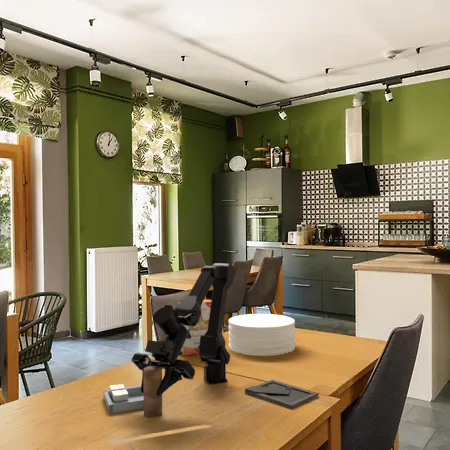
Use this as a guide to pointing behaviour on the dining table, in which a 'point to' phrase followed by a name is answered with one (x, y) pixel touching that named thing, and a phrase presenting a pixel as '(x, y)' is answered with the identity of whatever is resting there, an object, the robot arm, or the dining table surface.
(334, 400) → the dining table surface
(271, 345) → the plate stack
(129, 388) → the parts tray
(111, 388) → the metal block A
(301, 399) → the picture frame
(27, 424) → the dining table surface
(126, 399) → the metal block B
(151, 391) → the walnut dowel
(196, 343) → the cracker box
